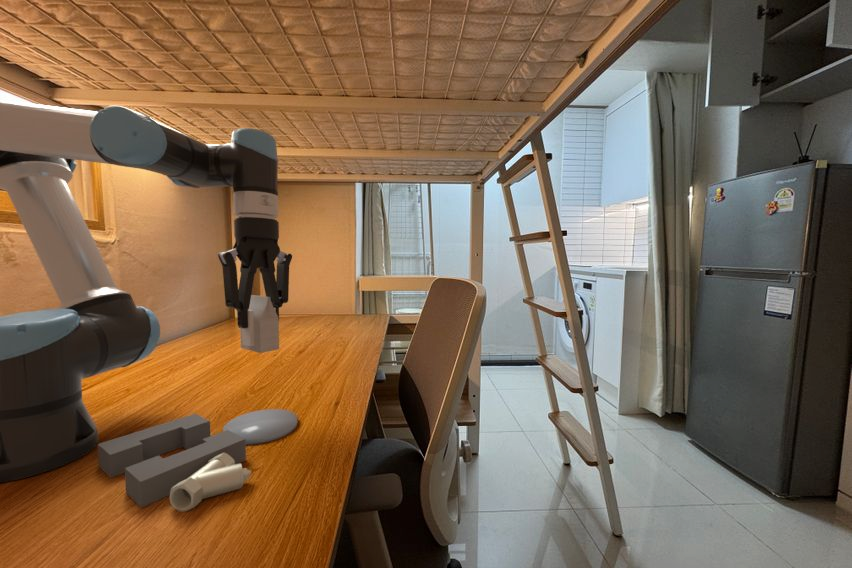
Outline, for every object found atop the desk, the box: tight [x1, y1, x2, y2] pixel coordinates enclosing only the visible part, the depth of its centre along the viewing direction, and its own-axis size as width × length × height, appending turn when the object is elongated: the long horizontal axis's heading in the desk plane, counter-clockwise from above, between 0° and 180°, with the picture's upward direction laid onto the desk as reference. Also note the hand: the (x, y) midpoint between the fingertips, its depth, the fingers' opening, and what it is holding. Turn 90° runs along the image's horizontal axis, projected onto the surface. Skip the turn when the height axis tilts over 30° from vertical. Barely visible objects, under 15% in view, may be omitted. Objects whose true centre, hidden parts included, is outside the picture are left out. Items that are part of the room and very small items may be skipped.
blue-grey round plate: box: [222, 408, 298, 446], centre depth 70 cm, size 13×13×1 cm
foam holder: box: [97, 413, 247, 509], centre depth 58 cm, size 17×14×4 cm
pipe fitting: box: [169, 453, 252, 513], centre depth 50 cm, size 8×4×7 cm
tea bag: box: [240, 294, 280, 354], centre depth 68 cm, size 4×7×10 cm, turn 55°
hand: (259, 342), depth 69 cm, fingers closed on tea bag, 4 cm apart
